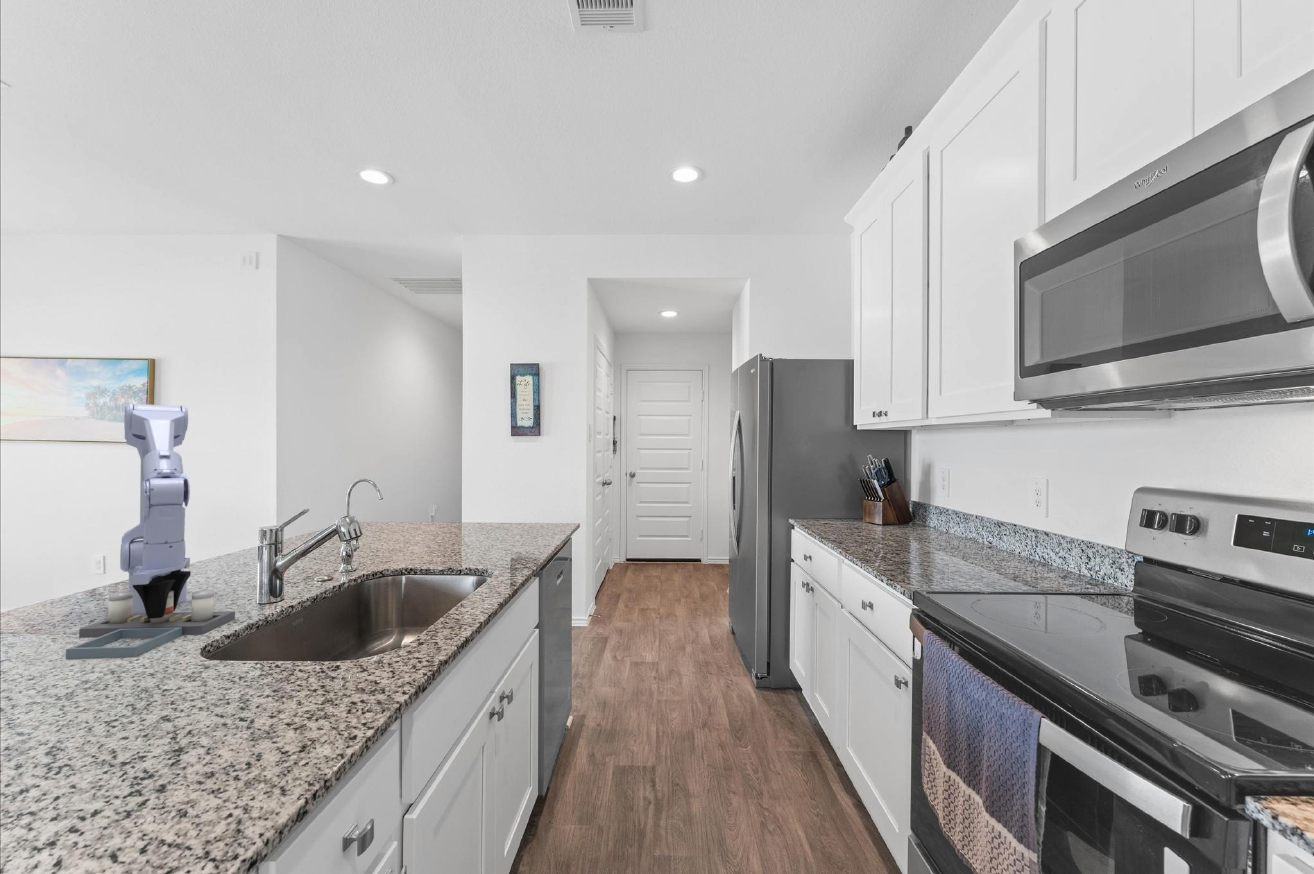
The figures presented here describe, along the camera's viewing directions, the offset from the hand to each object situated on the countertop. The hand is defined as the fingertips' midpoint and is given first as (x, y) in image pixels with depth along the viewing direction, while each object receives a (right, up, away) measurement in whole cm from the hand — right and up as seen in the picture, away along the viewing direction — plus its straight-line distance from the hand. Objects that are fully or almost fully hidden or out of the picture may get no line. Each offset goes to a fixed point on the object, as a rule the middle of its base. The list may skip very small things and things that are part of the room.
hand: (161, 614), depth 102 cm
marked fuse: (0, -2, 0) cm, 2 cm away
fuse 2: (+7, -3, +1) cm, 7 cm away
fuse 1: (-7, -2, -1) cm, 7 cm away
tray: (+3, -3, -10) cm, 11 cm away
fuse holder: (0, -3, 0) cm, 3 cm away
